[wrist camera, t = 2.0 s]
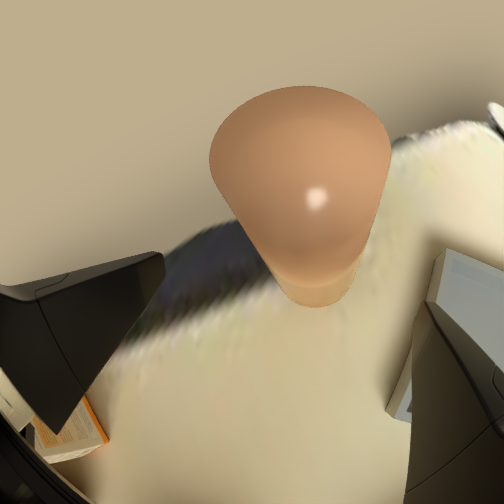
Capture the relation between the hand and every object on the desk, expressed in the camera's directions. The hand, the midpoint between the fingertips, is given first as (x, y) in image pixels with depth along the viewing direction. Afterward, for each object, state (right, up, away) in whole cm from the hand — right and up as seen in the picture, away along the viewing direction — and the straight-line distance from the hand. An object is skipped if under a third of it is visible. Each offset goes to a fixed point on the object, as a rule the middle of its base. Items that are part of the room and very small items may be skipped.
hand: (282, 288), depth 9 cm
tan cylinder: (+4, 0, +11) cm, 11 cm away
